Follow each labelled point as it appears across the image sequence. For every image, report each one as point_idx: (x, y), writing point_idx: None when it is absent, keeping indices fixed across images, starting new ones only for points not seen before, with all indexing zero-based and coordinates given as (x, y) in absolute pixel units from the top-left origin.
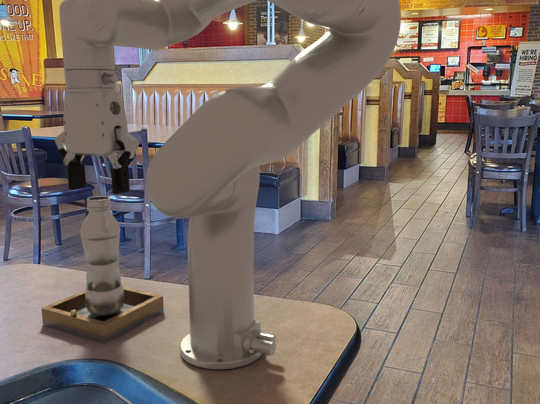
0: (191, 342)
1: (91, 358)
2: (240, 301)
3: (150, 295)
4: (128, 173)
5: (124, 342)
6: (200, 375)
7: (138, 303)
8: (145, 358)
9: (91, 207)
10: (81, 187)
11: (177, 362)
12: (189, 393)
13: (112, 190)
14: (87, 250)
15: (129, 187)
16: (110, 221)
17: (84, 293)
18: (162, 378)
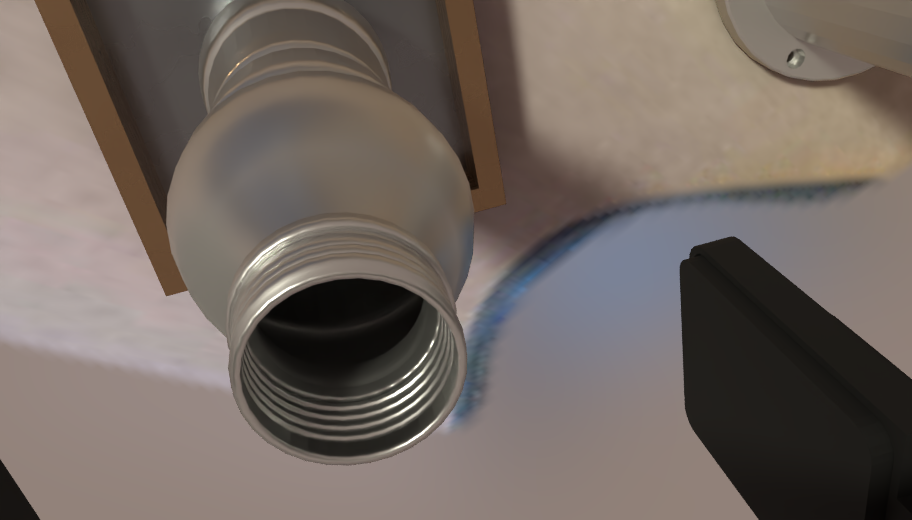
0: (807, 40)
1: (534, 249)
2: None
3: None
4: (872, 350)
5: (529, 126)
6: (856, 91)
7: None
8: (665, 140)
9: (383, 411)
10: (24, 501)
11: (761, 88)
12: (874, 166)
13: (698, 436)
14: (341, 281)
15: (746, 246)
16: (457, 236)
17: (107, 87)
18: (777, 171)
